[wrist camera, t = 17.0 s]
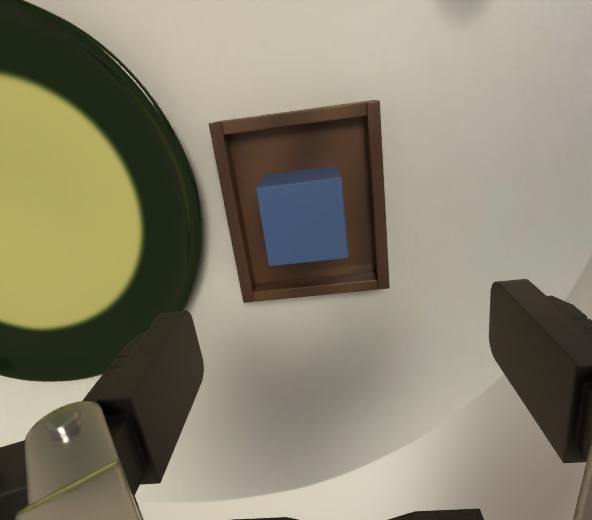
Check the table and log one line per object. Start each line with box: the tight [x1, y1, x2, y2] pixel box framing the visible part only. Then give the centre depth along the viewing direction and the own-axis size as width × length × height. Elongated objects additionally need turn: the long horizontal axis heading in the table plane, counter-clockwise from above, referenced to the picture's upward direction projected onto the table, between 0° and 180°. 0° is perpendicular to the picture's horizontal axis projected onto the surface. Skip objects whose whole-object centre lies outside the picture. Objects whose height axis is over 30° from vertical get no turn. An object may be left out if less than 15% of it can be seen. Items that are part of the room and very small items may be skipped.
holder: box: [209, 100, 389, 303], centre depth 29 cm, size 11×13×2 cm
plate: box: [0, 0, 202, 382], centre depth 30 cm, size 28×28×2 cm
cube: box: [256, 166, 348, 266], centre depth 27 cm, size 5×5×4 cm
